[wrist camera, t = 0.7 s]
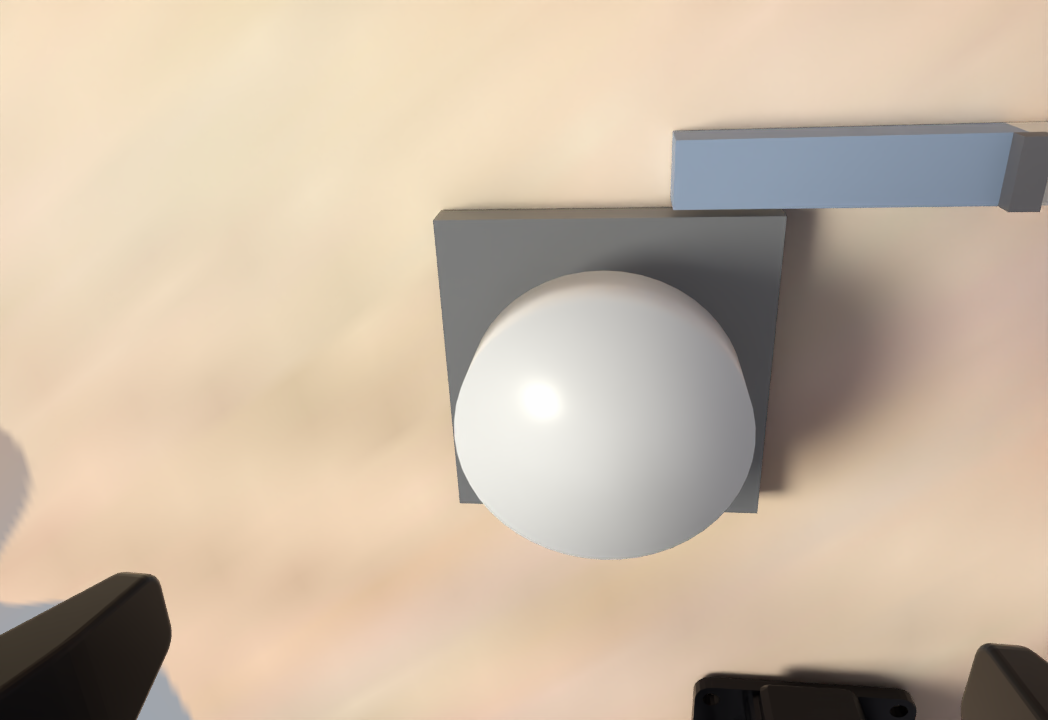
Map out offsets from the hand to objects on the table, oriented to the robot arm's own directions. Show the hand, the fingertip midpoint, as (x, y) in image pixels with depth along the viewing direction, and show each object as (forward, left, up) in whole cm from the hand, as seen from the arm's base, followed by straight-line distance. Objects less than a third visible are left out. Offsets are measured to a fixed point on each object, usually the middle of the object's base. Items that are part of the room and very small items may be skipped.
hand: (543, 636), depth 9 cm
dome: (-2, 0, -10) cm, 11 cm away
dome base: (-2, 0, -12) cm, 12 cm away
